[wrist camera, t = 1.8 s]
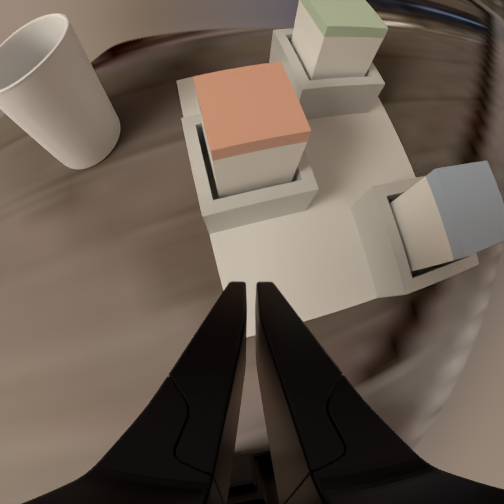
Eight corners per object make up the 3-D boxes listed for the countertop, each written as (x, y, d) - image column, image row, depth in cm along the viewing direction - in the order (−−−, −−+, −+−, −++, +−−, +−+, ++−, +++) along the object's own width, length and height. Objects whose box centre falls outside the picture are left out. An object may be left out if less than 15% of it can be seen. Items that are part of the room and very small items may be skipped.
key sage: (362, 81, 22) (388, 28, 15) (309, 84, 21) (327, 26, 15) (339, 43, 22) (358, -8, 16) (290, 46, 22) (301, -11, 16)
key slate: (455, 254, 19) (514, 236, 13) (407, 272, 19) (465, 256, 13) (435, 194, 20) (487, 160, 14) (386, 205, 20) (435, 168, 14)
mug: (139, 126, 24) (89, 22, 12) (85, 187, 23) (-2, 109, 11) (77, 85, 25) (26, 3, 13) (30, 135, 23) (-39, 67, 12)
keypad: (445, 272, 22) (479, 264, 18) (236, 339, 21) (235, 347, 17) (354, 58, 26) (367, 28, 22) (176, 82, 25) (168, 48, 20)
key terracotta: (291, 182, 20) (311, 130, 14) (219, 198, 19) (210, 150, 13) (271, 122, 20) (281, 61, 14) (204, 136, 20) (193, 76, 14)
